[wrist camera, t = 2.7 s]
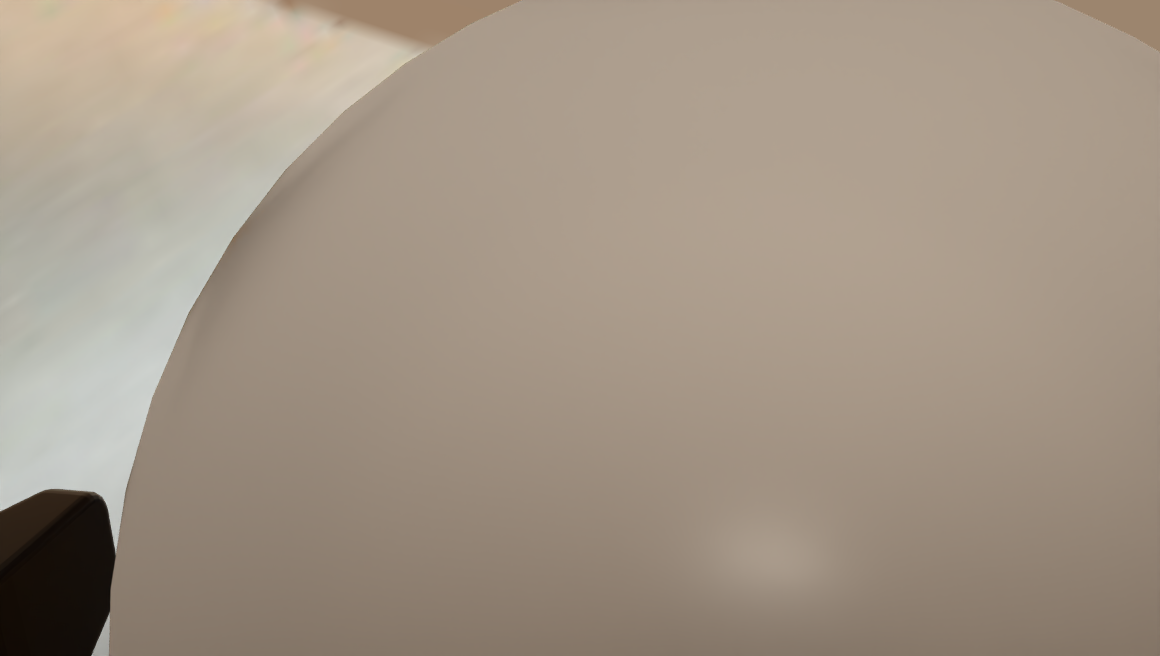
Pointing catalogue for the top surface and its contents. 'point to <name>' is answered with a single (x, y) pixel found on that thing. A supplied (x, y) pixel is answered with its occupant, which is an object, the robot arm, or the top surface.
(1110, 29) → the fuse cartridge
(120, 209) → the top surface
